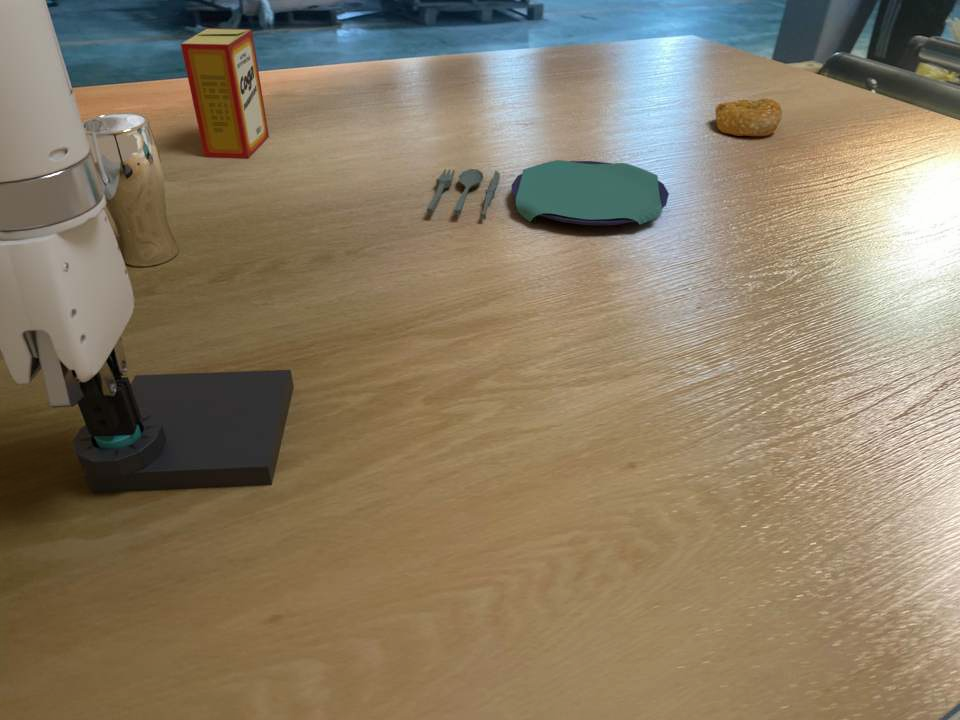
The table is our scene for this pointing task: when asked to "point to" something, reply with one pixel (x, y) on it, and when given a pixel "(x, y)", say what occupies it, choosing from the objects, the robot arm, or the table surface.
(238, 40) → the baking soda box
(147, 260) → the beer glass
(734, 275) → the table surface
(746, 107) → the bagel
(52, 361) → the robot arm
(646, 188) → the cutlery set
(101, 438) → the button
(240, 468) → the black flat square block
